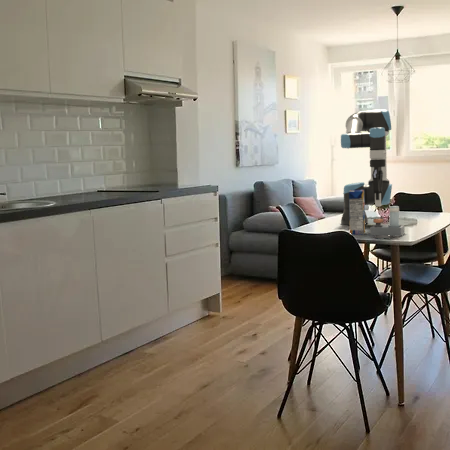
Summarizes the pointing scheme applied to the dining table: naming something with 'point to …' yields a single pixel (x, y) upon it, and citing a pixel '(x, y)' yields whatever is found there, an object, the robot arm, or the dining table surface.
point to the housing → (387, 230)
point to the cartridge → (394, 216)
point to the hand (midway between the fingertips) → (378, 206)
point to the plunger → (378, 222)
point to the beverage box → (357, 212)
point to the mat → (382, 236)
